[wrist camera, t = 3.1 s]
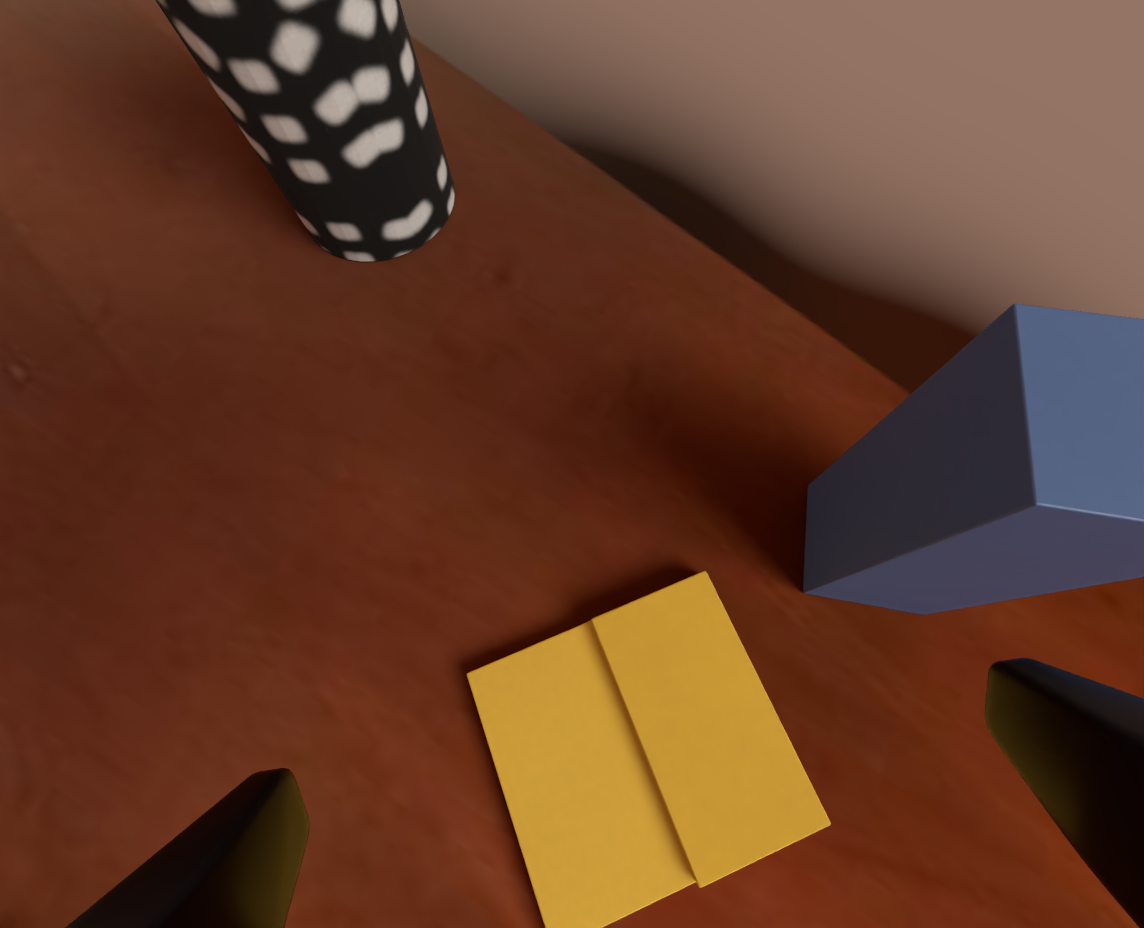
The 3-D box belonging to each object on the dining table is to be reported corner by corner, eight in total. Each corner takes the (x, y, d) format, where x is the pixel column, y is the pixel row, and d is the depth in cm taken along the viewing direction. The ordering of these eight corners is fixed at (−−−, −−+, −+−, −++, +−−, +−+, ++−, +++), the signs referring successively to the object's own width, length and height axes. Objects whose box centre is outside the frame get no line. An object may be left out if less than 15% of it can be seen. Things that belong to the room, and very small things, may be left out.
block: (923, 615, 21) (1313, 548, 10) (802, 593, 22) (1034, 504, 10) (920, 503, 23) (1252, 331, 11) (807, 485, 23) (1013, 302, 12)
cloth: (820, 814, 19) (834, 823, 18) (554, 942, 18) (551, 961, 17) (702, 574, 22) (708, 568, 21) (469, 673, 21) (462, 673, 20)
